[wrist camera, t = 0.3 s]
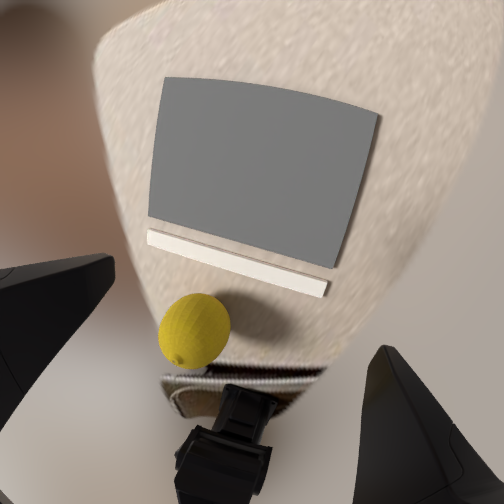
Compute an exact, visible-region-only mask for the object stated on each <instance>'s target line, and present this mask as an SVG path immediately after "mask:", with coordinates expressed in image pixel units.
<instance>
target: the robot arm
mask: <svg viewBox="0 0 504 504" xmlns="http://www.w3.org/2000/svg"><path fill="white" fill-rule="evenodd" d="M114 281H115V260H114V257H113V256H111V255H108V254H106V253H98V254H92V255H85V256H79V257H72V258H66V259H60V260H54V261H48V262H42V263H35V264H29V265H23V266H18V267H12V268H6V269H0V431H1V430H2V428H3V427H4V425H5V424H6V422H7V421H8V419H9V418H10V416H11V415H12V413H13V412H14V411H15V409H16V408H17V406H18V405H19V403H20V402H21V401H22V399H23V398H24V396H25V395H26V393H27V392H28V390H29V389H30V388H31V387H32V385H33V384H34V383H35V381H36V380H37V379H38V377H39V376H40V375H41V373H42V372H43V371H44V370H45V368H46V367H47V365H49V363H50V362H51V361H52V360H53V358H54V357H55V356H56V355H57V353H58V352H59V351H60V350H61V348H62V347H63V346H64V345H65V343H66V342H67V341H68V340H69V339H70V338H71V336H72V335H73V334H74V333H75V332H76V331H77V329H78V328H79V327H80V326H81V325H82V324H83V322H84V321H85V320H86V319H87V318H88V317H89V316H90V314H91V313H92V312H93V311H94V309H95V307H96V306H97V305H98V304H99V302H100V301H101V299H102V298H103V297H104V296H105V294H106V293H107V291H108V290H109V289H110V287H111V286H112V285H113V283H114ZM277 404H278V400H277V399H275V398H271V397H268V396H264V395H261V394H257V393H254V392H251V391H248V390H245V389H242V388H239V387H236V386H233V385H230V384H225V386H224V389H223V393H222V398H221V403H220V407H219V414H218V416H217V418H216V420H215V423H214V425H213V427H212V430H208V429H206V428H203V427H202V426H199V425H197V426H196V427H195V429H192V430H191V432H190V434H189V436H188V438H187V439H186V441H185V442H184V443H183V444H182V446H181V447H180V448H179V449H178V450H177V451H176V452H175V458H176V467H175V469H176V470H178V472H177V474H176V477H175V479H174V483H175V488H176V493H177V498H178V502H179V504H249V503H250V500H251V497H252V495H256V496H258V495H259V493H260V491H261V489H262V486H263V483H264V480H265V477H266V474H267V470H268V466H269V461H270V457H271V452H272V447H269V446H268V447H266V446H262V445H260V442H261V438H262V435H263V432H264V428H265V426H266V425H267V423H268V421H269V420H270V418H271V416H272V414H273V412H274V410H275V408H276V406H277ZM0 504H13V503H12V502H11V501H10V500H9V499H8V498H7V496H6V495H5V494H4V493H3V492H2V491H1V490H0ZM352 504H504V483H503V482H502V481H501V480H499V479H498V478H497V477H496V475H495V474H494V473H493V472H492V470H491V469H490V468H489V467H488V466H487V464H486V463H485V462H484V461H483V460H482V458H481V457H480V456H479V455H478V454H477V452H476V451H475V450H474V449H473V447H472V446H471V445H470V444H469V443H468V441H467V440H466V439H465V437H464V436H463V435H462V433H461V432H460V431H459V429H458V428H457V427H456V425H455V424H453V421H452V420H451V418H450V417H449V416H448V414H447V413H446V412H445V411H444V409H443V408H442V406H441V405H440V404H439V403H438V401H437V400H436V399H435V397H434V396H433V395H432V393H431V392H430V391H429V390H428V388H427V387H426V386H425V385H424V383H423V382H422V381H421V380H420V378H419V377H418V376H417V374H416V373H415V372H414V371H413V369H412V368H411V367H410V366H409V365H408V363H407V362H406V361H405V360H404V359H403V357H402V356H401V355H400V353H399V352H398V351H397V350H396V349H395V348H394V347H392V346H388V345H382V346H381V347H380V348H379V349H378V351H377V352H376V354H375V355H374V357H373V359H372V360H371V362H370V364H369V366H368V370H367V378H366V386H365V393H364V399H363V406H362V416H361V434H360V446H359V457H358V467H357V475H356V483H355V490H354V497H353V503H352Z"/></svg>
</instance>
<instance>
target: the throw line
mask: <svg viewBox="0 0 504 504" xmlns="http://www.w3.org/2000/svg"><path fill="white" fill-rule="evenodd" d="M147 244H148V245H151V246H154V247H157V248H160V249H163V250H166V251H169V252H172V253H175V254H178V255H181V256H184V257H187V258H191V259H194V260H197V261H200V262H203V263H206V264H209V265H213V266H216V267H219V268H222V269H225V270H228V271H232V272H235V273H238V274H241V275H245V276H248V277H251V278H254V279H258V280H261V281H264V282H268V283H271V284H274V285H278V286H281V287H284V288H288V289H291V290H295V291H298V292H301V293H305V294H308V295H312V296H315V297H319V298H322V296H323V293H324V291H325V288H326V285H327V280H324V279H321V278H317V277H314V276H310V275H307V274H303V273H300V272H297V271H293V270H290V269H286V268H283V267H280V266H276V265H273V264H269V263H266V262H263V261H259V260H256V259H252V258H249V257H246V256H242V255H239V254H236V253H232V252H229V251H225V250H222V249H219V248H215V247H212V246H209V245H205V244H202V243H199V242H195V241H192V240H189V239H185V238H182V237H179V236H175V235H172V234H169V233H165V232H162V231H159V230H155V229H152V228H149V229H148V230H147Z"/></svg>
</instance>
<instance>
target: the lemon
mask: <svg viewBox="0 0 504 504" xmlns="http://www.w3.org/2000/svg"><path fill="white" fill-rule="evenodd" d="M230 329H231V326H230V317H229V315H228V312H227V310H226V309H225V307H224V306H223V304H222V303H221V302H220V301H219V300H217V299H216V298H214V297H212V296H210V295H207V294H201V293H197V294H190V295H187V296H184V297H182V298H181V299H179V300H178V301H177V302H175V303H174V304H173V305H172V306H171V307H170V308H169V309H168V311H167V312H166V314H165V316H164V317H163V319H162V322H161V324H160V328H159V334H158V340H159V345H160V348H161V350H162V352H163V354H164V355H165V357H166V358H167V359H168V360H169V361H170V362H172V363H173V364H174V365H176V366H179V367H181V368H185V369H198V368H201V367H204V366H206V365H208V364H209V363H211V362H212V361H213V360H215V359H216V358H217V357H218V356H219V354H220V353H221V352H222V350H223V349H224V347H225V346H226V344H227V341H228V338H229V334H230Z"/></svg>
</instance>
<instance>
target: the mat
mask: <svg viewBox="0 0 504 504" xmlns="http://www.w3.org/2000/svg"><path fill="white" fill-rule="evenodd" d="M377 115H378V113H375V112H372V111H369V110H366V109H363V108H360V107H357V106H353V105H350V104H346V103H343V102H339V101H336V100H332V99H328V98H324V97H320V96H316V95H312V94H307V93H303V92H298V91H293V90H288V89H282V88H277V87H271V86H265V85H258V84H251V83H244V82H235V81H226V80H215V79H201V78H177V77H165V79H164V84H163V89H162V95H161V100H160V106H159V113H158V119H157V126H156V134H155V141H154V150H153V159H152V169H151V180H150V193H149V208H148V216H149V217H153V218H156V219H160V220H163V221H167V222H170V223H174V224H177V225H181V226H184V227H188V228H191V229H195V230H198V231H202V232H205V233H209V234H212V235H216V236H219V237H223V238H226V239H230V240H233V241H237V242H240V243H244V244H247V245H250V246H254V247H257V248H261V249H264V250H268V251H271V252H275V253H278V254H282V255H285V256H288V257H292V258H295V259H299V260H302V261H306V262H309V263H312V264H316V265H319V266H323V267H326V268H329V269H333V266H334V264H335V261H336V258H337V255H338V252H339V249H340V246H341V244H342V241H343V238H344V235H345V232H346V228H347V225H348V222H349V219H350V216H351V213H352V210H353V206H354V203H355V200H356V196H357V193H358V190H359V186H360V183H361V179H362V176H363V172H364V168H365V165H366V161H367V157H368V153H369V149H370V145H371V141H372V137H373V133H374V129H375V124H376V120H377Z"/></svg>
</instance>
